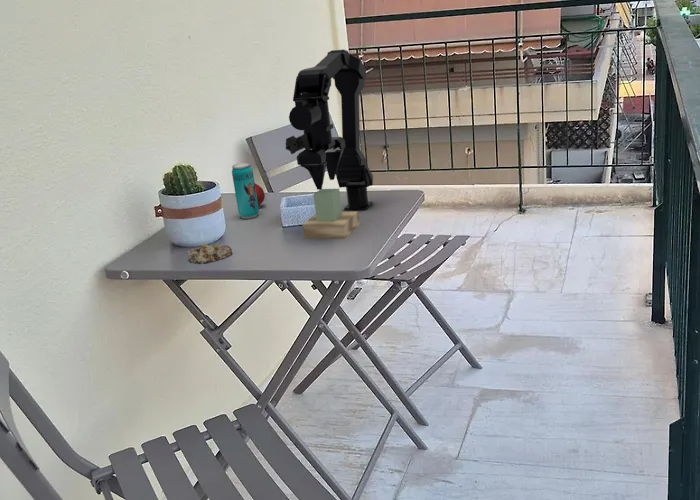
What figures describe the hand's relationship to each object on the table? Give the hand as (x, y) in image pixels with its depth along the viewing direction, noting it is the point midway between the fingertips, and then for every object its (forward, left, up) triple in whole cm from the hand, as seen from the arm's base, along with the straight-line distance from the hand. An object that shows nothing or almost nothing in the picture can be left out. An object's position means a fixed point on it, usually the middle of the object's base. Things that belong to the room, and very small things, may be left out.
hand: (325, 184), depth 188 cm
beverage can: (-13, -29, -13) cm, 35 cm away
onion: (-22, -31, -13) cm, 40 cm away
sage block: (0, 0, -9) cm, 9 cm away
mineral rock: (+19, -24, -13) cm, 34 cm away
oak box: (0, 0, -13) cm, 13 cm away
